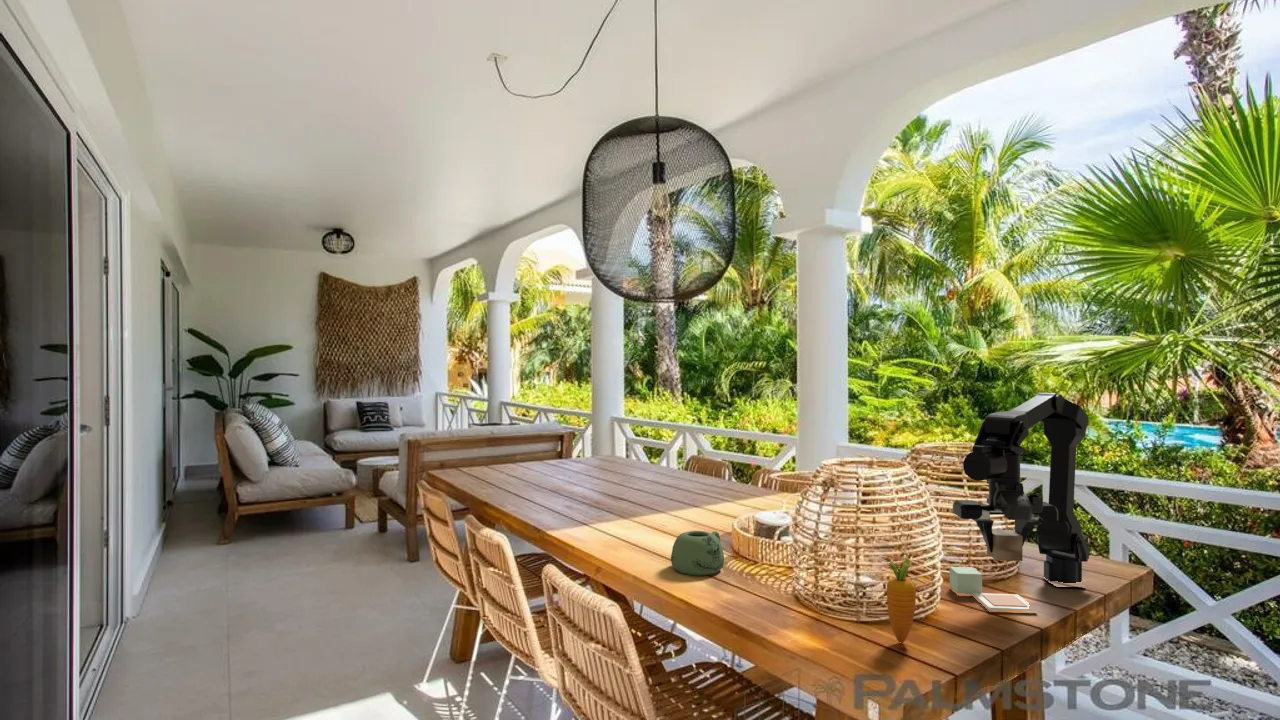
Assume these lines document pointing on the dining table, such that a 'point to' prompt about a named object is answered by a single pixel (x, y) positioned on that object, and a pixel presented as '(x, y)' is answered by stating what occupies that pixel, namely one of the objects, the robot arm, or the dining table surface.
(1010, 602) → the bordered square coaster
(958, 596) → the dining table surface
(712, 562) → the green animal planter
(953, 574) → the sage block
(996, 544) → the walnut block
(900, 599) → the carrot
